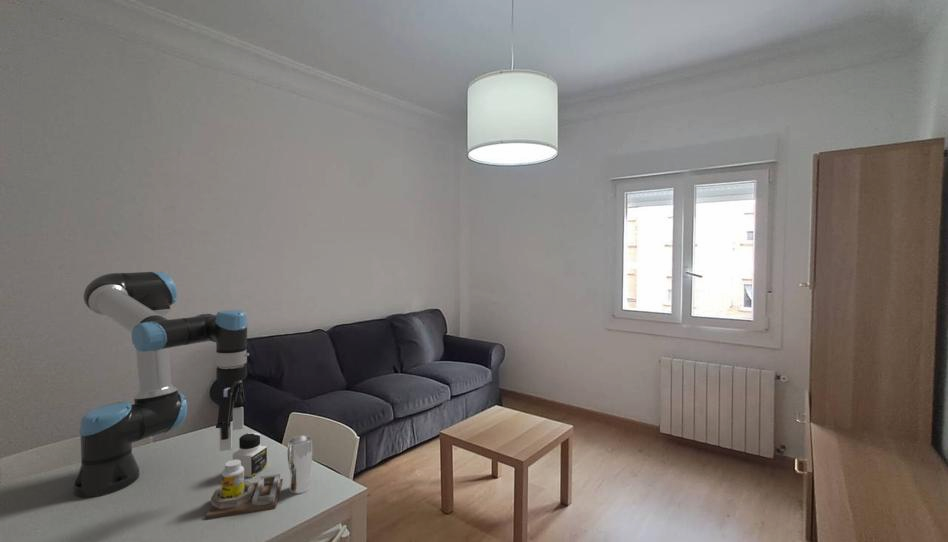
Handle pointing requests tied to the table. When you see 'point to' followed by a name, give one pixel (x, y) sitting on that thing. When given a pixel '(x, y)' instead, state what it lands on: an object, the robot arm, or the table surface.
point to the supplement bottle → (232, 479)
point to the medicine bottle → (251, 454)
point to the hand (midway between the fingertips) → (232, 438)
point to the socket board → (246, 505)
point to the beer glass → (300, 463)
